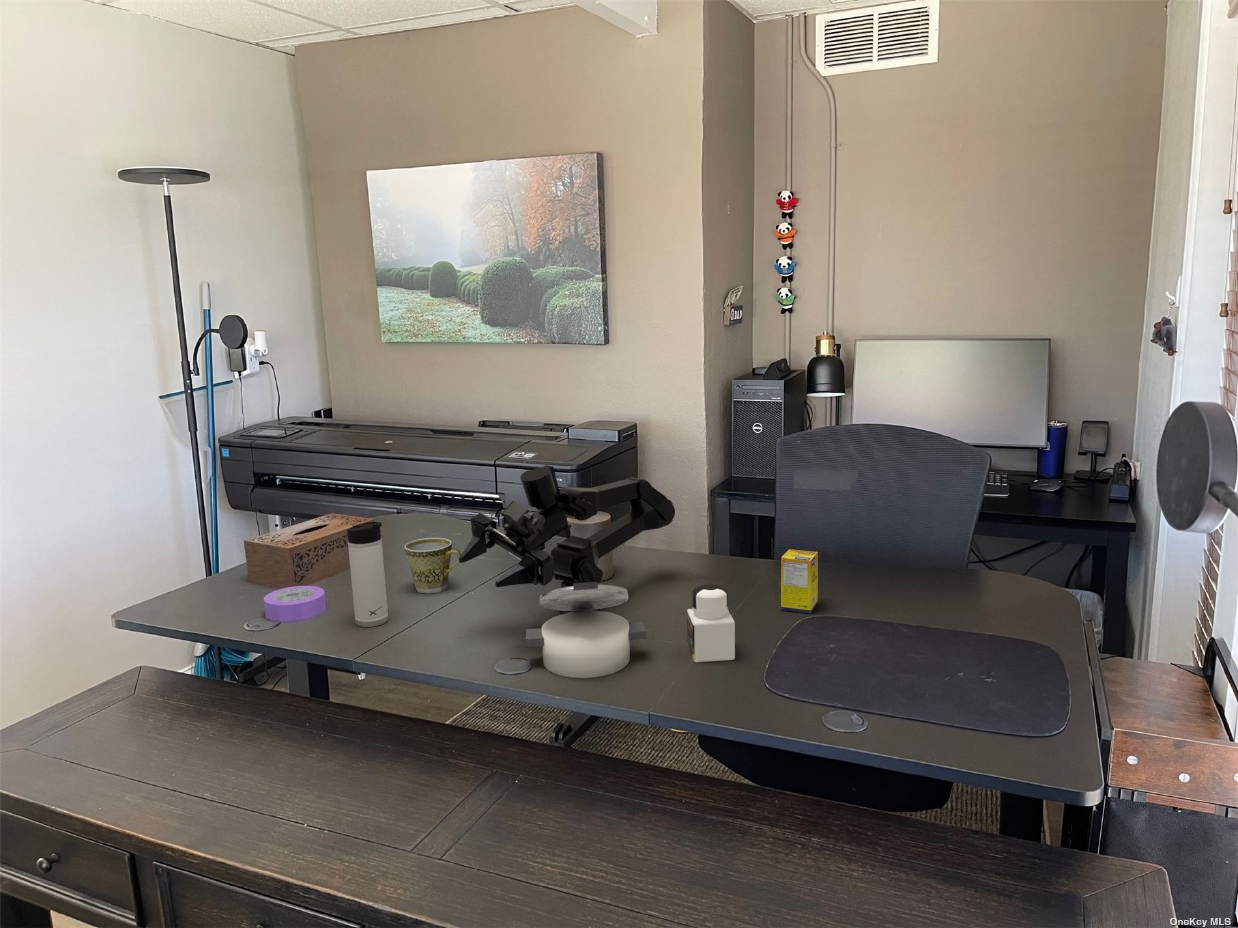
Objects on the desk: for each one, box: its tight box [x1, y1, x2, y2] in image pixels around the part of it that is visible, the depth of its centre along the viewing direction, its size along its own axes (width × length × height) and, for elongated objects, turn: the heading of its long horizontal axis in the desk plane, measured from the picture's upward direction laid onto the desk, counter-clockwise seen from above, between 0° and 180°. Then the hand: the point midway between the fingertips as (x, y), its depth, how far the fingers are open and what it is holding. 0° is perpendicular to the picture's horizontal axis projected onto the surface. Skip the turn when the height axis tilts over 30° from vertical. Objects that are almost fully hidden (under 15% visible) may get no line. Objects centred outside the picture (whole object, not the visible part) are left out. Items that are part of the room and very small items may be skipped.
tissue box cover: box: [243, 513, 376, 589], centre depth 207 cm, size 26×14×10 cm, turn 151°
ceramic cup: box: [404, 537, 462, 595], centre depth 191 cm, size 13×10×10 cm
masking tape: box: [263, 585, 327, 623], centre depth 181 cm, size 12×12×4 cm
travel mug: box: [347, 521, 389, 628], centre depth 173 cm, size 6×7×20 cm
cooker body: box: [525, 610, 647, 679], centre depth 154 cm, size 16×20×6 cm
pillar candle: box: [567, 510, 614, 582], centre depth 196 cm, size 10×10×15 cm
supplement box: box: [780, 549, 819, 615], centre depth 174 cm, size 6×6×11 cm
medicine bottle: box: [686, 583, 736, 663], centre depth 154 cm, size 7×7×12 cm
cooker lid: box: [539, 582, 629, 612], centre depth 153 cm, size 17×15×2 cm
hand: (477, 572), depth 156 cm, fingers open, 9 cm apart
